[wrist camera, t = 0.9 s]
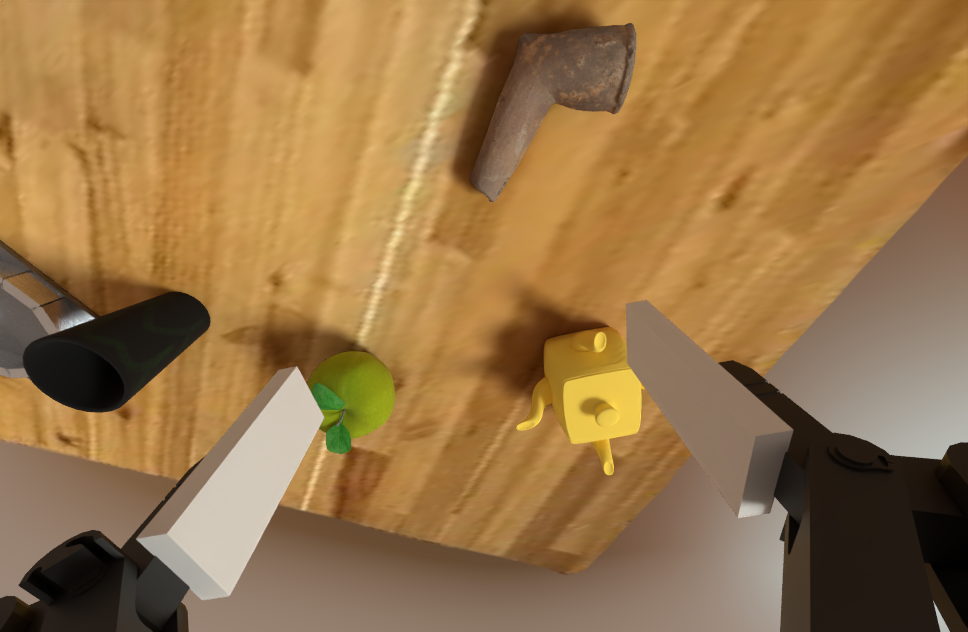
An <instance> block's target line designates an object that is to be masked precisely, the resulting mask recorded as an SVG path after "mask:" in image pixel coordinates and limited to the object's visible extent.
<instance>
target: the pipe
mask: <svg viewBox="0 0 968 632" xmlns="http://www.w3.org/2000/svg"><path fill="white" fill-rule="evenodd" d="M635 54H636V32H635V28H634V25H633V24H632V23H628V24H626V25H612V26H602V27H588V28H582V29H572V30H568V31H564V32H560V33H551V34H533V33H525V34H523V35H522V36H521V37H520V39H519V43H518V49H517V53H516V57H515V60H514V63H513V66H512V69H511V71H510V73H509V75H508V78H507V80H506V82H505V84H504V87H503V90H502V92H501V94H500V96H499V99H498V102H497V105H496V107H495V110H494V113H493V116H492V119H491V122H490V124H489V127H488V131H487V133H486V136H485V139H484V141H483V144H482V146H481V149H480V152H479V155H478V158H477V160H476V163H475V166H474V168H473V171H472V174H471V177H470V181H471V182H472V184H473V185H474V186H475V187H476V188H477V189H478V190H479V191H480V192H482V193H484V194H485V195H486V196H487V197H488V199H489V201H490V202H494V201H496V199H497V198H498V196H499V195H500V193H501V192H502V190H503V188H504V187H505V185H506V183H507V182H508V180H509V179H510V177H511V175H512V174H513V172H514V171H515V169H516V167H517V166H518V164H519V162H520V161H521V159H522V157H523V155H524V154H525V152H526V150H527V148H528V147H529V145H530V143H531V141H532V139H533V138H534V136H535V134H536V132H537V130H538V129H539V127H540V125H541V123H542V121H543V119H544V117H545V116H546V114H547V112H548V110H549V109H550V107H551V105H552V104H554V103H557V104H560V105H563V106H565V107H568V108H572V109H576V110H582V111H607V112H610V113H612V114H616V113H618V112H619V111H620V109H621V107H622V106H623V103H624V100H625V98H626V95H627V92H628V89H629V85H630V82H631V78H632V74H633V68H634V63H635Z"/></svg>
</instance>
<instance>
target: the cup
mask: <svg viewBox="0 0 968 632" xmlns="http://www.w3.org/2000/svg"><path fill="white" fill-rule="evenodd" d="M209 326H210V316H209V313H208V311H207V309H206V308H205V307H204V305H203V304H202V303H201V302H200V301H198V300H197V299H195V298H194V297H192V296H190V295H188V294H185V293H181V292H169V293H166V294H163V295H160V296H157V297H155V298H152V299H149V300H146V301H143V302H140V303H138V304H135V305H132V306H129V307H126V308H124V309H121V310H118V311H115V312H112V313H110V314H107V315H104V316H101V317H98V318H95V319H93V320H90V321H87V322H84V323H81V324H79V325H76V326H73V327H70V328H67V329H64V330H62V331H59V332H56V333H53V334H50V335H48V336H45V337H42V338H39V339H37V340H35V341H33V342H31V343H30V344H29V345H28V346H27V347H26V348H25V351H24V354H23V366H24V369H25V371H26V373H27V375H28V377H29V378H30V379H31V381H32V382H33V383H34V384H35V385H36V386H37V387H38V388H39V389H40V390H41V391H42V392H43V393H45V394H46V395H48V396H49V397H50V398H52V399H53V400H55V401H57V402H59V403H61V404H63V405H65V406H68V407H71V408H74V409H77V410H82V411H86V412H109V411H113V410H116V409H118V408H120V407H121V406H123V405H124V404H125V403H126V402H127V401H128V400H129V399H131V398H132V397H133V396H134V395H135V394H136V393H137V392H138V391H140V390H141V389H142V388H143V387H144V386H145V385H146V384H147V383H148V382H150V381H151V380H152V379H153V378H154V377H155V376H156V375H157V374H159V373H160V372H161V371H162V370H163V369H164V368H165V367H166V366H167V365H169V364H170V363H171V362H172V361H173V360H174V359H175V358H176V357H178V356H179V355H180V354H181V353H182V352H183V351H184V350H185V349H187V348H188V347H189V346H190V345H191V344H192V343H193V342H194V341H195V340H197V339H198V338H199V337H200V336H201V335H202V334H203V333H204V332H206V331H207V330H208V328H209Z"/></svg>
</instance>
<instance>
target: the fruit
mask: <svg viewBox="0 0 968 632" xmlns="http://www.w3.org/2000/svg"><path fill="white" fill-rule="evenodd" d="M307 386H308V388H309V390H310V391H311V393H312V395H313V397H314V399H315V401H316V403H317V405H318V406H319V408H320V410H321V412H322V414H323V416H324V419H323V421H322V423H321V425H320V427H319V429H320V430H322V431H323V432H326V446H327V449H328V450H329V451H331V452H334V453H339V454H343V453H346V452H348V451H350V449H351V439H354V438H358V437H361V436H364V435H366V434H368V433H370V432H372V431H374V430H376V429H377V428H379V427H380V426H381V425H383V424H384V423H385V422H386V421H387V420H388V418H389V417H390V415H391V413H392V411H393V407H394V401H395V390H394V383H393V379H392V376H391V374H390V371H389V370H388V368H387V367H386V366H385V364H383V363H382V362H381V361H380V360H379V359H377V358H376V357H375V356H373V355H371V354H369V353H366V352H360V351H348V352H342V353H338V354H336V355H333V356H331V357H329V358H328V359H326V360H325V361H323V362H322V363H321V364H320V365H319V366H318V367H317V368H316V369H315V370H314V372H313V373H312V375H311V376H310V378H309V381H308V384H307Z"/></svg>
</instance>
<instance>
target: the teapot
mask: <svg viewBox="0 0 968 632" xmlns="http://www.w3.org/2000/svg"><path fill="white" fill-rule="evenodd" d="M544 373H545V377H544V378H543V379H541V380H540V381H539V382H538V383H537V384H536V386H535V388H534V390H533V394H532V404H531V411H530V413H529V415H528V417H527V418H526V419H525V420H523V421H522V422H521V423H519V424H518V425H517V426H516V429H517V430H527V429H530V428H532V427H534V426H536V425H537V424H538V423H539V422H540V420H541V418H542V415H543V410H544V408H545V407H546V406H547V405H549V404H552V406H553V409H554V412H555V414H556V417H557V419H558V421H559V423H560V425H561V427H562V429H563V430H564V432H565V434H566V436H567V437H568V439H569V441H570V442H571V443H572V444H579V443H586V442H591V443H592V444H593V446H594V448H595V449H596V451H597V453H598V455H599V457H600V460H601V463H602V466H603V470H604V472H605V473H606V475H608V476H610V475H612V473H613V471H614V465H613V460H612V455H611V450H610V444H609V439H610V438H615V437H621V436H625V435H630V434H634V433H637V432H638V430H639V427H640V420H641V389H645V388H644V386H643V385H642V383H641V382H640V381H639V379H638V378H637V376H636V375H635V374H634V372H633V371H632V369H631V368H630V367H629V365H628V364H627V344H626V342H625V340H624V339H623V337H622V336H621V335H620V333H619V332H618V331H616V330H615V329H613V328H611V327H603V328H597V329H591V330H585V331H580V332H575V333H570V334H565V335H561V336H557V337H553V338H549V339H547V340H546V341H545V345H544Z"/></svg>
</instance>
